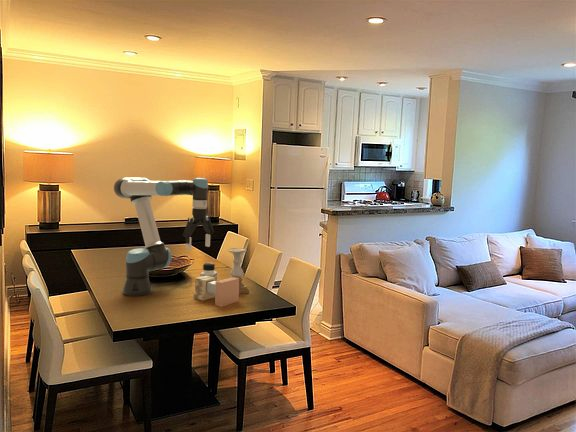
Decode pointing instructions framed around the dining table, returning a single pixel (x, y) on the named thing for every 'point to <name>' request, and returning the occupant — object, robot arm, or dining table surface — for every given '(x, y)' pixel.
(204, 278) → the white blocky piece
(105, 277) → the dining table surface
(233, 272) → the candle holder
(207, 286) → the slip bar
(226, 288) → the socket block
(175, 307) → the dining table surface
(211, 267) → the container
